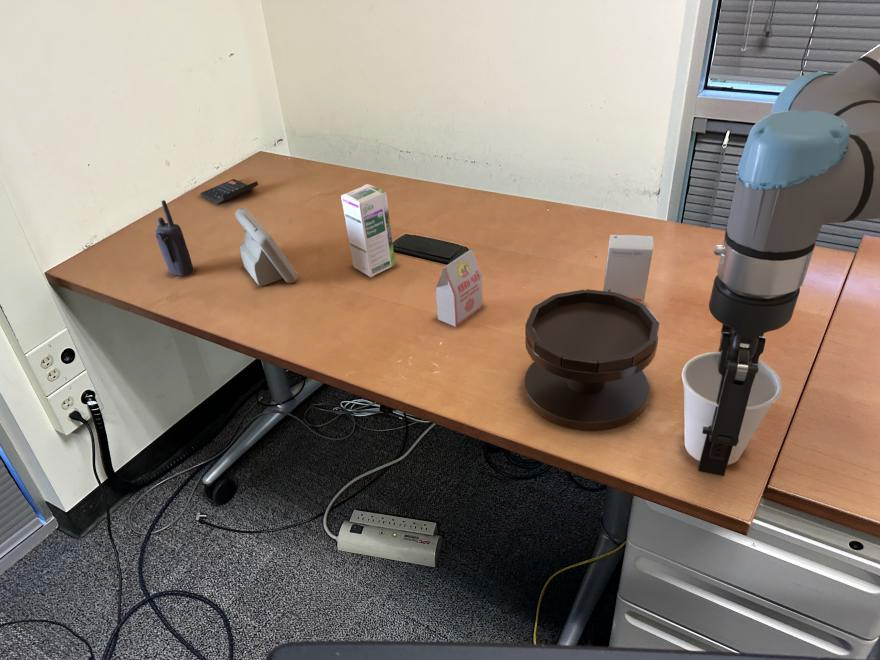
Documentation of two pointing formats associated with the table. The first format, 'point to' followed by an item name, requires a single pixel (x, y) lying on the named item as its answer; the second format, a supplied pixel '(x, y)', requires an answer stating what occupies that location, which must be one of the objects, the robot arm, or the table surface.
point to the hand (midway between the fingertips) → (713, 444)
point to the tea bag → (459, 290)
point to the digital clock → (262, 253)
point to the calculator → (227, 191)
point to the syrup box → (369, 229)
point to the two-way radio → (173, 245)
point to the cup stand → (589, 359)
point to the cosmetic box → (628, 265)
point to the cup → (702, 403)
